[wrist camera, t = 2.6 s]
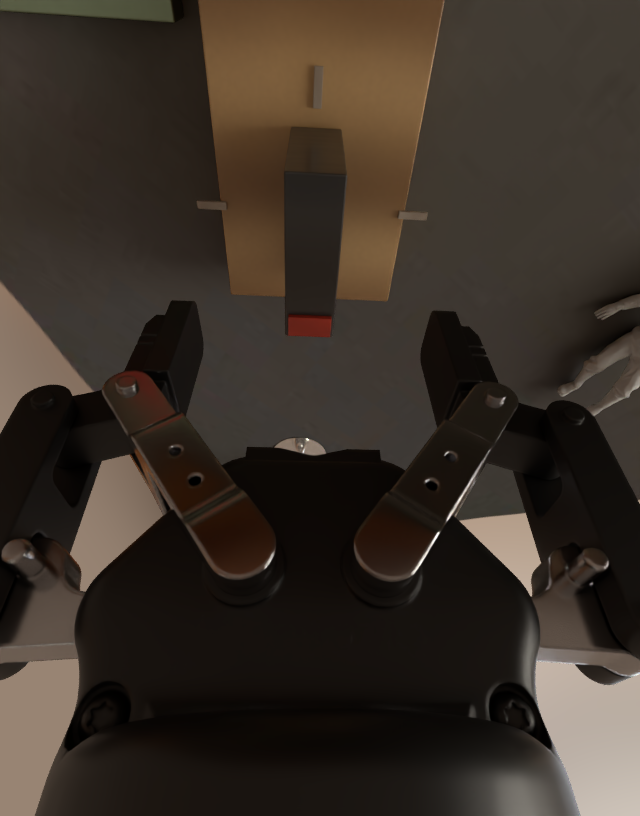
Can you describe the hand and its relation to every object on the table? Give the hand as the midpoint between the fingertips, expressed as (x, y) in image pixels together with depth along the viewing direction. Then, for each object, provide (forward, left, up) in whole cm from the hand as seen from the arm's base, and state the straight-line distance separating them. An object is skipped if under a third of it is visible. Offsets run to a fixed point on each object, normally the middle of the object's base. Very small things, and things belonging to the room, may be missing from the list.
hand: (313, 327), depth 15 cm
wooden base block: (-2, 0, -12) cm, 12 cm away
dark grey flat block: (0, 0, -9) cm, 9 cm away
